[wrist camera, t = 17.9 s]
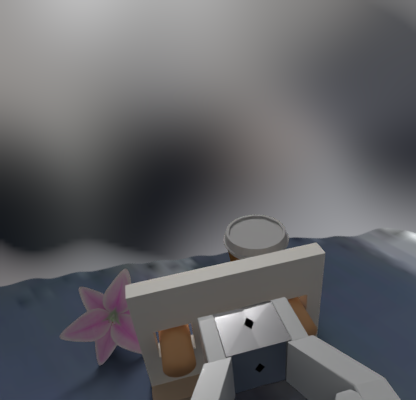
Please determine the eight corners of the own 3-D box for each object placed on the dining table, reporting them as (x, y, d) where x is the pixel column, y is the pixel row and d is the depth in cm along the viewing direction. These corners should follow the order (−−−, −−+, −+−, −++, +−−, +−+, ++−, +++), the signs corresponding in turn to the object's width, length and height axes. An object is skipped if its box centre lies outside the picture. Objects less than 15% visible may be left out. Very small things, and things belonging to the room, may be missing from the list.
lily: (61, 360, 49) (46, 347, 41) (91, 283, 56) (83, 259, 48) (143, 377, 49) (144, 368, 41) (163, 299, 56) (167, 277, 48)
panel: (154, 410, 40) (125, 317, 32) (150, 359, 46) (125, 270, 38) (325, 362, 44) (337, 267, 36) (300, 320, 50) (306, 230, 42)
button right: (286, 348, 39) (287, 327, 37) (266, 306, 44) (265, 286, 43) (316, 340, 39) (318, 319, 38) (291, 300, 45) (292, 279, 43)
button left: (165, 380, 37) (160, 360, 35) (159, 332, 42) (154, 312, 41) (198, 372, 37) (194, 351, 36) (188, 325, 43) (184, 305, 41)
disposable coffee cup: (297, 305, 52) (300, 242, 46) (237, 320, 51) (232, 257, 45) (273, 265, 60) (274, 208, 54) (221, 277, 59) (215, 219, 53)
